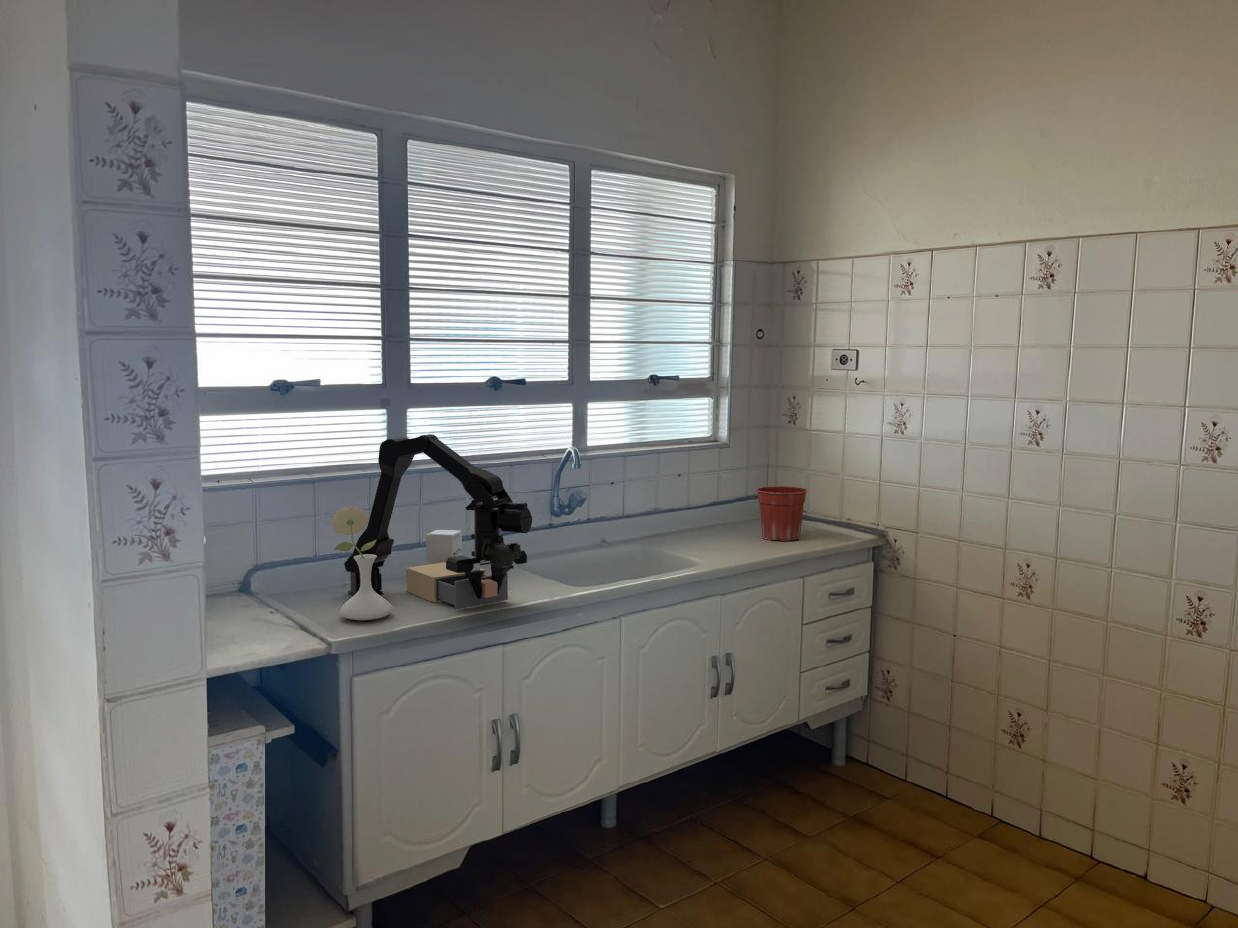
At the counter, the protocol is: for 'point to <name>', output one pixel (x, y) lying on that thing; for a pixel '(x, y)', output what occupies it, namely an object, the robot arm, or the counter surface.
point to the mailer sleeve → (428, 579)
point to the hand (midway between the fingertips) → (487, 596)
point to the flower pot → (781, 511)
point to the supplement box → (443, 545)
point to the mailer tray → (470, 591)
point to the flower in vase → (360, 568)
